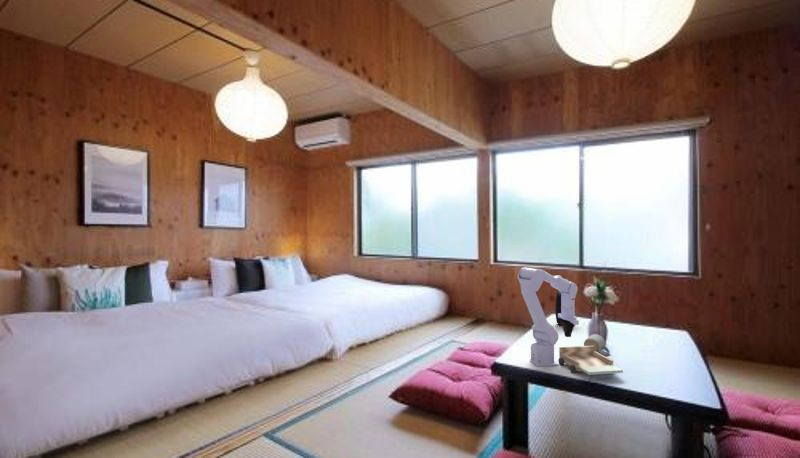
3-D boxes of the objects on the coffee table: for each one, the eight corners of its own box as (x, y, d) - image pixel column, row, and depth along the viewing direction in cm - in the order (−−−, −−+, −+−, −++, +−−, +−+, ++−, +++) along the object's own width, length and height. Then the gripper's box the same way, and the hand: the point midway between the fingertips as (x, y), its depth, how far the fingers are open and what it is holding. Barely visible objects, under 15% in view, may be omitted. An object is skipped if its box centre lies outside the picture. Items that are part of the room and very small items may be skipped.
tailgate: (580, 369, 164) (588, 374, 158) (580, 367, 164) (588, 372, 158) (612, 367, 166) (622, 372, 160) (612, 365, 166) (622, 370, 160)
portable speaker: (557, 322, 250) (557, 290, 250) (573, 324, 245) (573, 292, 245) (553, 325, 243) (553, 292, 243) (570, 327, 238) (570, 294, 238)
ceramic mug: (582, 351, 194) (582, 336, 194) (589, 347, 200) (589, 332, 200) (606, 357, 187) (606, 340, 186) (612, 353, 192) (612, 337, 192)
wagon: (574, 375, 165) (574, 357, 165) (557, 363, 179) (557, 347, 179) (615, 372, 167) (615, 355, 167) (595, 361, 181) (595, 345, 181)
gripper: (585, 310, 180) (585, 340, 180) (567, 303, 194) (567, 331, 195) (570, 311, 179) (570, 341, 179) (553, 304, 193) (553, 332, 194)
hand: (567, 336), depth 187 cm, fingers closed
